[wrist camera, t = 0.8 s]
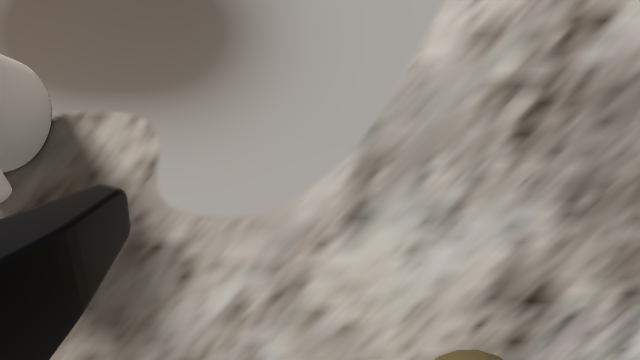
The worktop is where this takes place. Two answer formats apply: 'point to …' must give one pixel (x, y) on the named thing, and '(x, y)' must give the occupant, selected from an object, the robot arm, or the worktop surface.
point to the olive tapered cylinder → (468, 355)
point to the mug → (20, 118)
